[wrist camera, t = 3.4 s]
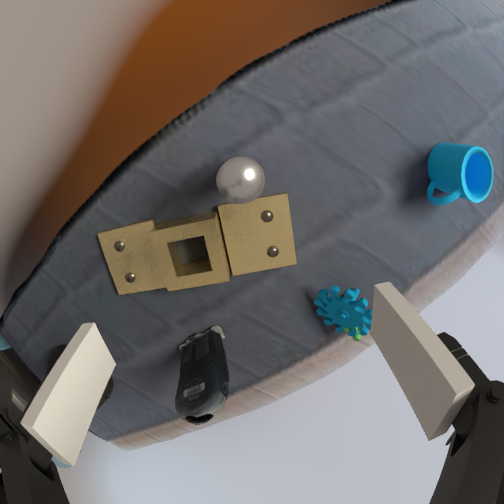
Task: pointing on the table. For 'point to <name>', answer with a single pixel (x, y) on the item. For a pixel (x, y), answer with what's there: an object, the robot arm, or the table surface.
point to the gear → (345, 311)
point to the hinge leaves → (217, 268)
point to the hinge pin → (240, 180)
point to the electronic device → (202, 377)
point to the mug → (459, 173)
